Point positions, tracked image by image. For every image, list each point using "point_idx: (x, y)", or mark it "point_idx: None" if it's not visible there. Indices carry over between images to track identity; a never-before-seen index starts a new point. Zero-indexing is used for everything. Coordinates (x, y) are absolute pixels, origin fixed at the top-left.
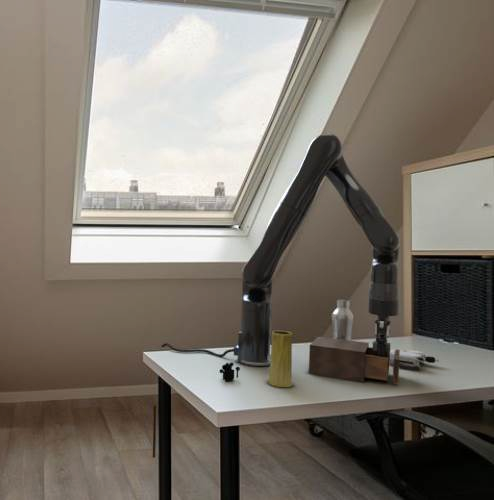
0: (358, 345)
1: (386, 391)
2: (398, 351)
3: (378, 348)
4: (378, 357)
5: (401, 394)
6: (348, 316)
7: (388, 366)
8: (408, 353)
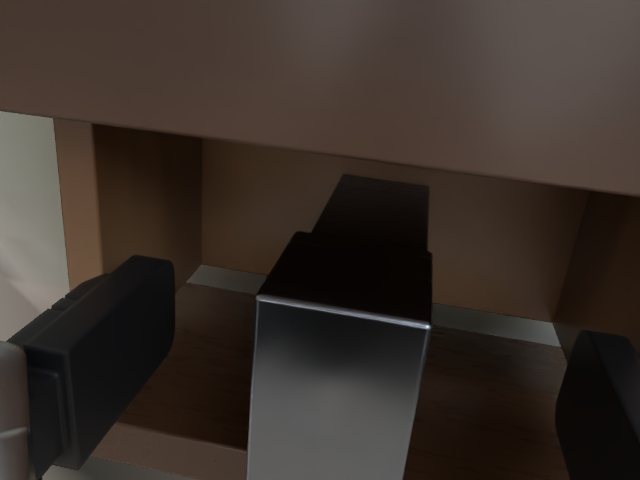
0: (468, 1)
1: (32, 210)
2: None
3: (33, 320)
4: (69, 261)
5: (31, 292)
6: None
7: (559, 329)
8: None
